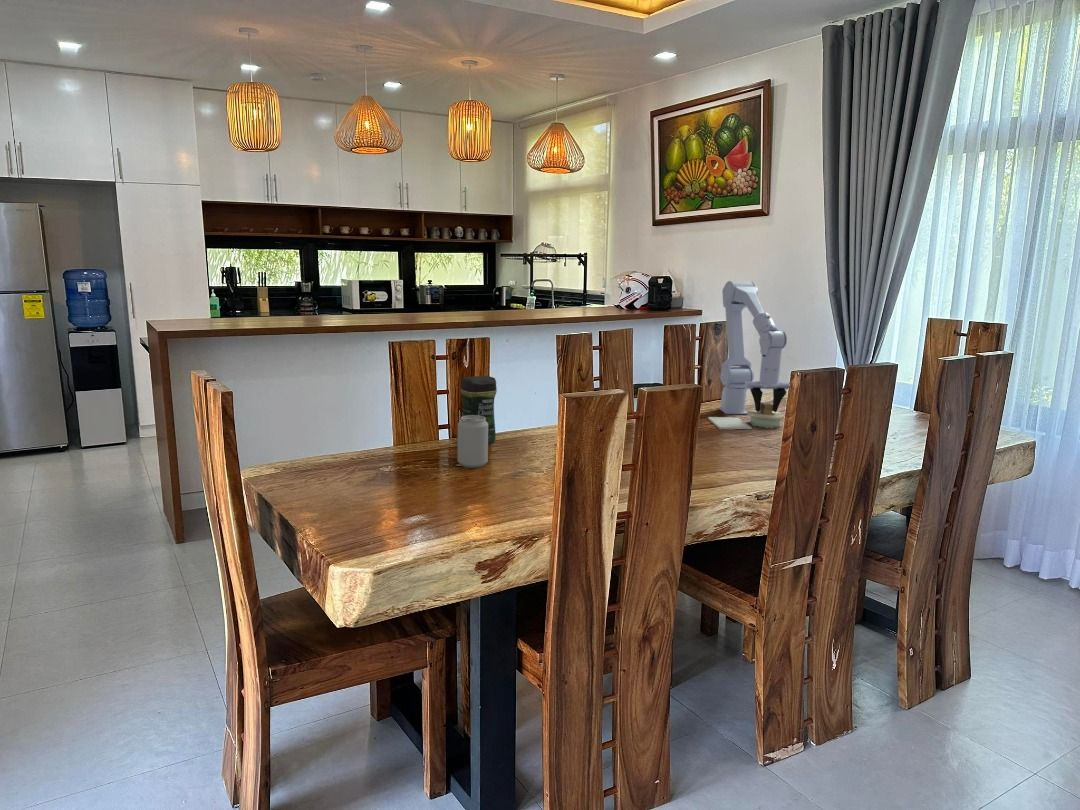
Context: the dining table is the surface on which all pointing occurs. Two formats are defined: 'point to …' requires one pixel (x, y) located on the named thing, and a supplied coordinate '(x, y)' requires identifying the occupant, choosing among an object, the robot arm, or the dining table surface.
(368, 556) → the dining table surface
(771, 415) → the lid
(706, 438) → the dining table surface
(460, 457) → the can
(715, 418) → the mat
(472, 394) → the coffee jar
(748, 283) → the robot arm
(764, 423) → the bowl
